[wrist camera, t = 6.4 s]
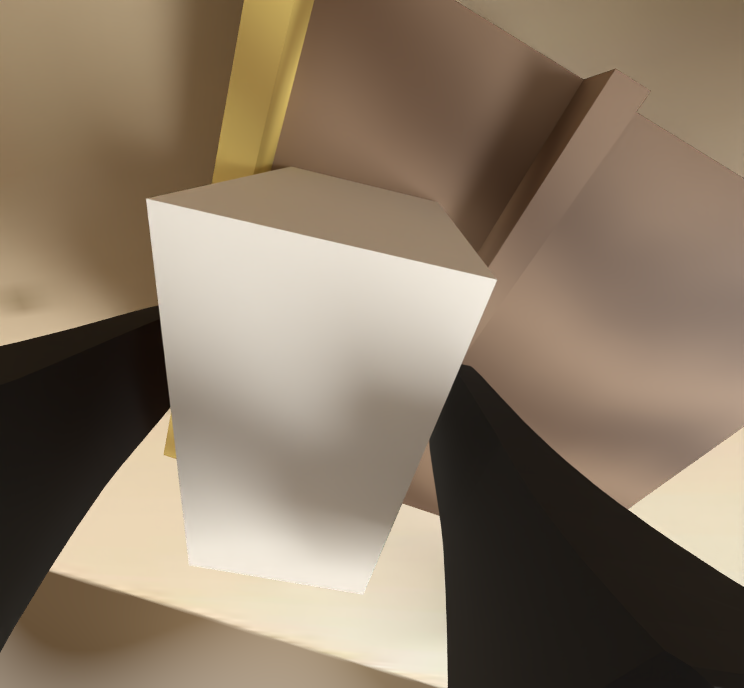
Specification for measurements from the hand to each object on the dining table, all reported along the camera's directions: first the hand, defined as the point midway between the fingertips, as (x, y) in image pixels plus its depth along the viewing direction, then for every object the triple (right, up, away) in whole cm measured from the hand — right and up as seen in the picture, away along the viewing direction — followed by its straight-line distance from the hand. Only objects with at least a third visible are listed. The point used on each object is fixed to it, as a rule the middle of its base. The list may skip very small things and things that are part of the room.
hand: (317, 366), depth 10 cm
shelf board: (+6, 0, +5) cm, 8 cm away
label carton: (0, +2, +3) cm, 4 cm away
